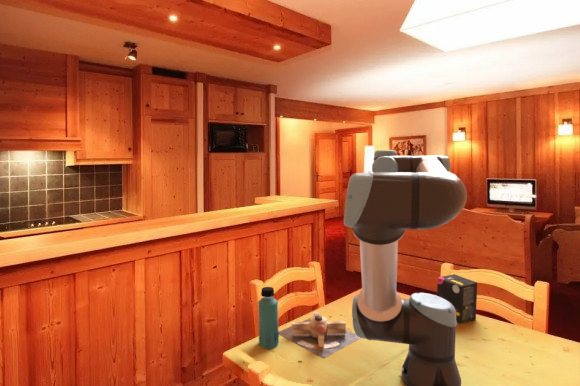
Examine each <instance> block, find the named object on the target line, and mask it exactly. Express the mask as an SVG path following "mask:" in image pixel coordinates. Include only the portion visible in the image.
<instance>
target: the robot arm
mask: <svg viewBox="0 0 580 386" xmlns="http://www.w3.org/2000/svg"><path fill="white" fill-rule="evenodd" d="M373 153H374V154H373V163H372V165H371V170H370V171H367V172H356V173H352V174H351V176H350V177H349V179H348V184H347V189H346V190H347V191H346V196H345V205H344V206H345V207H344V215H343V225H344V226H345V227H348V228H351V229H352V233H353V235H354V237H355V238H356V239H358V241H359V252H360V253H359V254H360V269H361V270H360V272H361V273H360V274H361V288H362V289H361V290H360V291H359V293H358V294H357V295H355V296H354V297H353V298H352V304H351V317H352V327H353V330H354V334H356V335H357V336H358V337H360V339H366V340H368V341H378V342H388V343H395V344H396V343H397V344H404V345H408V351H407V354H406V357H405V359H404V361H403V364H402V366H401V379H402V380H401V381H402V382H403V384H404V385H405V386H462V378H461V375H460V371H459V368H458V365H457V361H456V358H455V357H456V338H457V337H456V333H457V332H456V330H457V329H456V327H457V325H458V324H457V321H456V310H455V308H454V306H453V305H452V304H451V303H450V302H449V301H447V300H445V299H443V298H441V297H439V296H437V294H432V293H426V292H413V293H412V294H411V295H410V296H409V299H407V298H402V297H401V296H400V294H399V293H398V291H397V285H398V284H397V283H398V282H397V281H398V280H397V278H398V277H397V276H398V251H399V248H398V246H399V241H400V240H401V239H402V237H403V236H404V235H405V233H406V230H433V229H435V228H439V227H441V226H444V225H446V224H449V222H451V221H452V220H454V219H456V217H457V216H459V215H460V214H461V212H462V211H463V210H464V208H465V206H466V203H467V198H468V193H467V188H466V186H465V184H464V182H463V180H462V179H461V178H459V176H457V175H456V174H455V173H452V172H451V161H450V158H449V156H447V155H438V154H434V155H398V151H396V150H394V149H387V150H386V149H384V150H383V149H381V150H376V151H374V152H373Z"/></svg>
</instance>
